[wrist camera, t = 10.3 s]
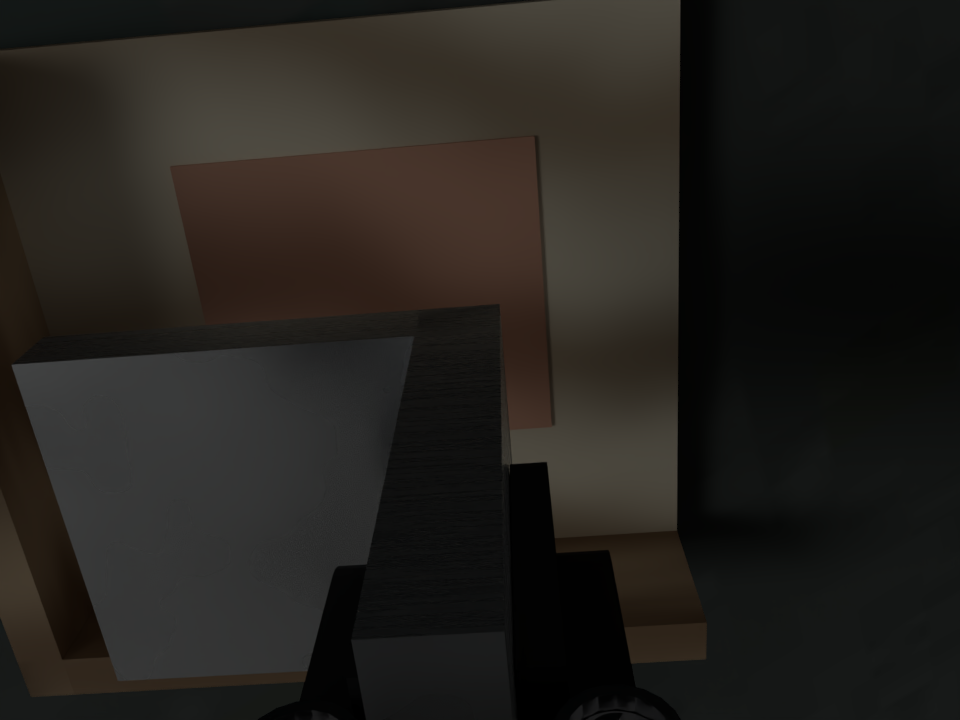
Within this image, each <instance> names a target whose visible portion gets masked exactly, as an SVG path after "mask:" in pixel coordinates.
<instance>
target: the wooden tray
mask: <svg viewBox="0 0 960 720" xmlns="http://www.w3.org/2000/svg"><path fill="white" fill-rule="evenodd" d="M679 126H680V0H532V1H521V2H510V3H499V4H488V5H477V6H466V7H455V8H444V9H433V10H423V11H412V12H401V13H390V14H379V15H368V16H357V17H346V18H335V19H324V20H313V21H302V22H291V23H280V24H269V25H259V26H248V27H237V28H226V29H215V30H204V31H193V32H182V33H171V34H160V35H149V36H138V37H127V38H116V39H106V40H95V41H84V42H73V43H62V44H51V45H40V46H29V47H18V48H7V49H0V618H1V620H2V623H3V625H4V628H5V631H6V633H7V636H8V638H9V641H10V644H11V646H12V649H13V651H14V654H15V657H16V659H17V662H18V664H19V667H20V669H21V672H22V675H23V677H24V680H25V682H26V685H27V688H28V690H29V693H30V695H31V697H38V696H56V695H74V694H92V693H110V692H128V691H145V690H163V689H181V688H199V687H217V686H235V685H253V684H271V683H288V682H305V679H306V675H307V671H298V672H279V673H261V674H242V675H223V676H204V677H185V678H166V679H147V680H128V681H118V680H117V677H116V674H115V671H114V668H113V665H112V662H111V659H110V656H109V653H108V650H107V647H106V644H105V641H104V638H103V635H102V632H101V629H100V626H99V623H98V620H97V617H96V614H95V611H94V608H93V606H92V603H91V600H90V597H89V594H88V591H87V588H86V585H85V582H84V579H83V576H82V573H81V570H80V567H79V564H78V561H77V558H76V555H75V552H74V549H73V546H72V543H71V540H70V537H69V534H68V531H67V528H66V525H65V523H64V520H63V517H62V514H61V511H60V508H59V505H58V502H57V499H56V496H55V493H54V490H53V487H52V484H51V481H50V478H49V475H48V472H47V469H46V466H45V463H44V460H43V457H42V454H41V451H40V448H39V445H38V443H37V440H36V437H35V434H34V431H33V428H32V425H31V422H30V419H29V416H28V413H27V410H26V407H25V404H24V401H23V398H22V395H21V392H20V389H19V386H18V383H17V380H16V377H15V374H14V371H13V368H12V364H13V363H14V362H15V361H16V360H17V359H19V358H20V357H21V356H22V355H23V354H24V353H26V352H27V351H28V350H29V349H30V348H31V347H33V346H34V345H35V344H36V343H37V342H38V341H39V340H41V339H42V338H43V337H50V336H64V335H78V334H91V333H105V332H119V331H133V330H147V329H160V328H174V327H188V326H202V325H216V324H229V323H243V322H257V321H271V320H285V319H298V318H312V317H326V316H340V315H354V314H367V313H381V312H395V311H409V310H422V309H436V308H450V307H464V306H478V305H491V304H500V315H501V327H502V340H503V353H504V365H505V378H506V390H507V403H508V415H509V428H510V441H511V453H512V464H521V463H536V462H547V466H548V476H549V485H550V495H551V505H552V515H553V525H554V535H555V545H556V553H565V552H581V551H598V550H609V552H610V556H611V560H612V565H613V571H614V576H615V581H616V586H617V592H618V597H619V602H620V608H621V613H622V618H623V623H624V629H625V634H626V639H627V644H628V650H629V655H630V660H631V663H646V662H664V661H682V660H700V659H706V637H707V622H706V619H705V615H704V612H703V609H702V606H701V603H700V600H699V597H698V594H697V591H696V588H695V585H694V582H693V578H692V575H691V572H690V569H689V566H688V563H687V560H686V557H685V554H684V551H683V548H682V545H681V541H680V538H679V535H678V532H677V445H678V285H679Z"/></svg>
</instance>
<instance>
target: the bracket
mask: <svg viewBox="0 0 960 720" xmlns="http://www.w3.org/2000/svg"><path fill="white" fill-rule="evenodd" d="M12 368H13V371H14V374H15V377H16V380H17V383H18V386H19V389H20V392H21V395H22V398H23V401H24V404H25V407H26V410H27V413H28V416H29V419H30V422H31V425H32V428H33V431H34V434H35V437H36V440H37V443H38V445H39V448H40V451H41V454H42V457H43V460H44V463H45V466H46V469H47V472H48V475H49V478H50V481H51V484H52V487H53V490H54V493H55V496H56V499H57V502H58V505H59V508H60V511H61V514H62V517H63V520H64V523H65V525H66V528H67V531H68V534H69V537H70V540H71V543H72V546H73V549H74V552H75V555H76V558H77V561H78V564H79V567H80V570H81V573H82V576H83V579H84V582H85V585H86V588H87V591H88V594H89V597H90V600H91V603H92V606H93V608H94V611H95V614H96V617H97V620H98V623H99V626H100V629H101V632H102V635H103V638H104V641H105V644H106V647H107V650H108V653H109V656H110V659H111V662H112V665H113V668H114V671H115V674H116V677H117V680H118V681H128V680H147V679H166V678H185V677H204V676H223V675H242V674H261V673H279V672H298V671H308V667H309V663H310V660H311V656H312V652H313V648H314V644H315V641H316V637H317V633H318V629H319V625H320V622H321V618H322V614H323V610H324V606H325V602H326V599H327V595H328V591H329V587H330V583H331V580H332V576H333V573H334V571H335V569H336V568H337V567H338V566H348V565H365V564H367V566H366V571H365V576H364V580H363V585H362V590H361V595H360V600H359V604H358V609H357V614H356V619H355V624H354V629H353V633H352V638H351V642H352V647H353V653H354V658H355V663H356V669H357V674H358V679H359V685H360V690H361V696H362V701H363V706H364V712H365V717H366V720H519V716H518V705H517V693H516V680H515V664H514V636H513V599H512V563H511V526H510V489H509V474H510V464H512V453H511V441H510V428H509V415H508V403H507V390H506V378H505V365H504V353H503V340H502V327H501V315H500V304H491V305H478V306H464V307H450V308H436V309H422V310H409V311H395V312H381V313H367V314H354V315H340V316H326V317H312V318H298V319H285V320H271V321H257V322H243V323H229V324H216V325H202V326H188V327H174V328H160V329H147V330H133V331H119V332H105V333H91V334H78V335H64V336H50V337H43V338H42V339H41V340H39V341H38V342H37V343H36V344H35V345H34V346H33V347H31V348H30V349H29V350H28V351H27V352H26V353H24V354H23V355H22V356H21V357H20V358H19V359H17V360H16V361H15V362H14V363H13V364H12Z"/></svg>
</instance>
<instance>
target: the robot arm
mask: <svg viewBox="0 0 960 720" xmlns="http://www.w3.org/2000/svg"><path fill="white" fill-rule="evenodd" d="M509 489H510V526H511V563H512V599H513V636H514V664H515V680H516V693H517V705H518V716H519V720H681V719H680V717H679V716H678V714H677V712H676V711H675V710H674V709H673V708H672V707H671V706H670V705H669V704H668V703H667V702H665V701H664V700H663V699H662V698H661V697H659V696H657V695H655V694H653V693H651V692H649V691H647V690H645V689H641V688H637V687H636V686H635V681H634V676H633V671H632V665H631V660H630V655H629V650H628V644H627V639H626V634H625V629H624V623H623V618H622V613H621V608H620V602H619V597H618V592H617V586H616V581H615V576H614V571H613V565H612V560H611V556H610V552H609V550H598V551H581V552H565V553H556V545H555V535H554V525H553V515H552V505H551V495H550V485H549V476H548V466H547V462H536V463H521V464H510V474H509ZM366 566H367V564H365V565H348V566H338V567H337V568H336V569H335V571H334V573H333V576H332V580H331V583H330V587H329V591H328V595H327V599H326V602H325V606H324V610H323V614H322V618H321V622H320V625H319V629H318V633H317V637H316V641H315V644H314V648H313V652H312V656H311V660H310V663H309V667H308V671H307V675H306V679H305V683H304V686H303V690H302V694H301V698H300V701H298V702H294V703H291V704H288V705H285V706H282V707H278V708H276V709H274V710H273V711H271V712H269V713H267V714H266V715H264V716H262V717H261V718H259V719H258V720H366V717H365V712H364V706H363V701H362V696H361V690H360V685H359V679H358V674H357V669H356V663H355V658H354V653H353V647H352V642H351V638H352V633H353V629H354V624H355V619H356V614H357V609H358V604H359V600H360V595H361V590H362V585H363V580H364V576H365V571H366Z"/></svg>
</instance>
